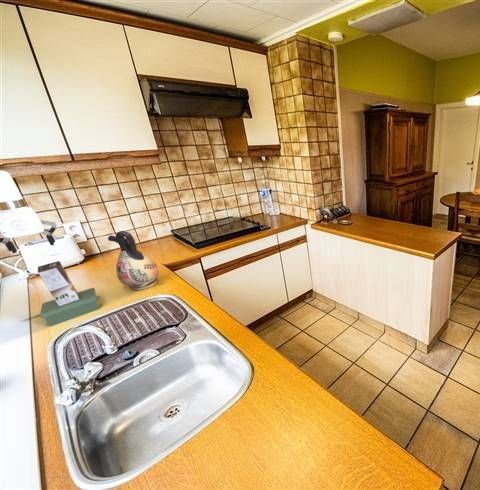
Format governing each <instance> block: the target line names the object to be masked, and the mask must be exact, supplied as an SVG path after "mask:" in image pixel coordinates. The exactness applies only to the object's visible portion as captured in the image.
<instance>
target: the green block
mask: <svg viewBox="0 0 480 490" xmlns="http://www.w3.org/2000/svg"><path fill="white" fill-rule="evenodd" d="M77 293H78V296H79V300H76V301H73V302H70V303H67V304H64V305H61V306H58V304H57V302H56V301H55V299H52V300H49V301H45V302H43V303H42V304H41V308H40V312H39V316H40V317H41V319H44V320H45V322H46V323H47V324H48V326H49V327H52V326H55V325H58V324H61V323H63V322H66V321H69V320H72V319H75V318H78V317H80V316H83V315H87V314H89V313H93V312H95V311H98V310H100V308H101V307H100V305H99V304H98V302H97V301H99V297H98V295H97V292H96V289H95V287H91V288H90V287H89V288H88V289H84V290H81V291H77Z"/></svg>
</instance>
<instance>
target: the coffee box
mask: <svg viewBox="0 0 480 490" xmlns="http://www.w3.org/2000/svg"><path fill="white" fill-rule="evenodd" d="M37 273H38V275H39V277H40V278H41V280H42V281H43V283H44V285H45V286H46V288H47V290H48V291H49V293H50V295H51V296H52V298H53V300H55V301H56V302H57V304H58V306H61V305H64V304H67V303H70V302H73V301H76V300H79V296H78V291H77V288H76V287H75V285H74V284H73V282H72V280H71V279H70V277H69V275H68V273H67V271H66V270H65V268H64V266H63V264H62V263H61V261H60V260H57V261H53V262H50V263H46V264H43V265H38V266H37Z"/></svg>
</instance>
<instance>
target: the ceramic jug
mask: <svg viewBox="0 0 480 490" xmlns="http://www.w3.org/2000/svg"><path fill="white" fill-rule="evenodd" d="M107 241H108V242H114V243H116V244H118V245H119V248H120V252H119V255H118V258H117V261H116V266H115V270H116V271H115V272H116V276H117V279H118V281H119V283H121V284H122V285H124V286H126V287H129V288H131V289H133V290H135V291H140V290H146V289H148V288H151V287H153V286H154V285H155V284H156V283H157V278H158V276H159V266H158V264H156V262H155V260H154V259H153V258H151V257H150V256H149V255H147V254H146V253H144V252H142V251H140V250H139V249H138V248H137V244H136V241H135V238H134V236H133V234H131V233H130V232H129V231H125V230H120V231H117V232H116V234H115V235H112V234H111V235H109V236H108V237H107Z"/></svg>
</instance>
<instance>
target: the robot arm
mask: <svg viewBox="0 0 480 490" xmlns="http://www.w3.org/2000/svg"><path fill="white" fill-rule="evenodd" d="M18 188H19V187H18V186H17V185H16V183H15V181H14V179H13V177H12V175H11V174H10V173H9V172H8V171H6V170H0V234H1V236H2V237H0V243H1V244H3V245H5V247H6V249H7V250H8V251H9V252H12V254H16V253H17V252H18V249H17V247H16V246H15V244H14V243H13V241H11V239H15V238H20V237H26V236H31V235H36V234H43V235H45V237H46V240H47V241H48V243H49V245H50V246H54V245H55V243H56V240H55V238H54V236H53V233H54V232H55V231H56V229H57V224H58V223H57V222H56V221H50V220H43V219H41V218H40V217H39V215H38V214H37V213H36V211H35V210H34V209H33V208H32V207H31V206H28V205H27V203H26V201H25V199H24V198H23V196H22V194H21V192H20V190H19V189H18ZM45 225H48V226H50V229H49V230H48V229H46V228H45Z"/></svg>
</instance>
